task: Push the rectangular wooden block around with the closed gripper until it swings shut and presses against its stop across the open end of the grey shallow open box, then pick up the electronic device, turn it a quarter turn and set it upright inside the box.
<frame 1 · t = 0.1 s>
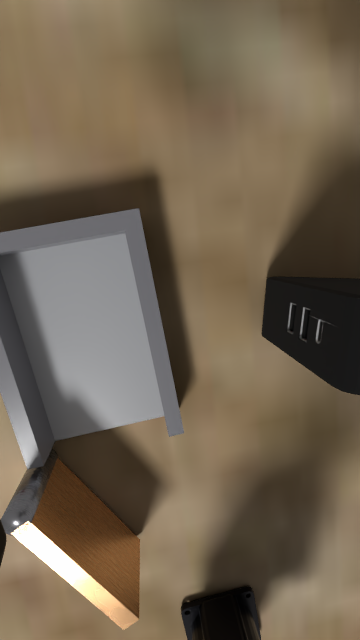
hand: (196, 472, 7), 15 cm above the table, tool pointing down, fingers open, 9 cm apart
electronic device: (324, 305, 23), on the table
rectangular wooden block: (82, 532, 21), point 3 cm above the table, hinge at -65.0°
grey shallow open box: (89, 341, 21), on the table
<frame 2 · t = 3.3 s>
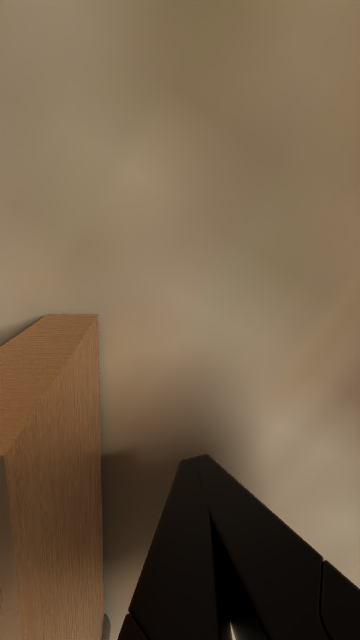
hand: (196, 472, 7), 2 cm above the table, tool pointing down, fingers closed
rectangular wooden block: (54, 611, 6), point 3 cm above the table, hinge at -64.9°, touching gripper
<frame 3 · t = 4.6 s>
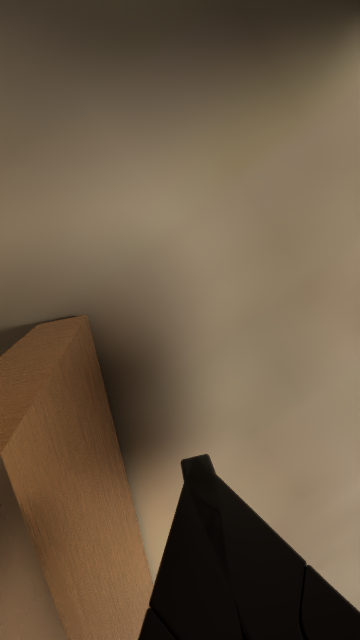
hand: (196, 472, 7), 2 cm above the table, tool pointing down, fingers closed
rectangular wooden block: (103, 598, 7), point 3 cm above the table, hinge at -31.3°, touching gripper
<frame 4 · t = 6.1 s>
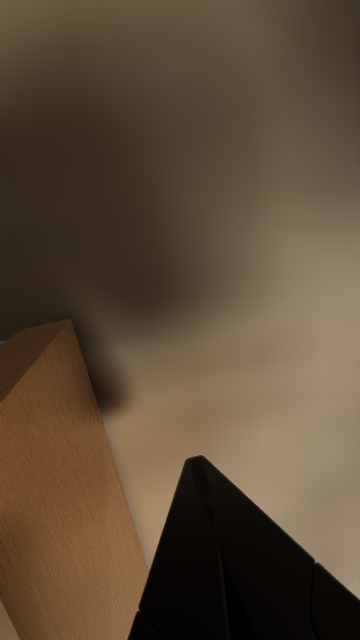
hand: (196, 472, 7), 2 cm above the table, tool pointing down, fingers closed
rectangular wooden block: (95, 607, 6), point 3 cm above the table, hinge at 2.5°, touching gripper
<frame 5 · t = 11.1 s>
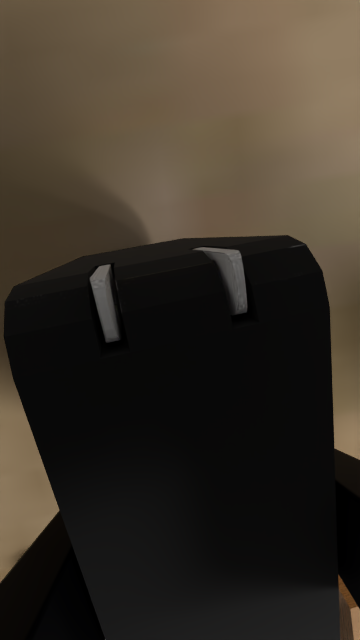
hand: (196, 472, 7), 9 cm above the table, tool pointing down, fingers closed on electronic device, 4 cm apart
electronic device: (154, 353, 15), point 1 cm above the table, touching gripper
rectangular wooden block: (336, 621, 18), point 3 cm above the table, hinge at 2.4°
when the fingers open (9 cm above the table, at t = 13.7 s): electronic device stays where it is, resting on grey shallow open box.
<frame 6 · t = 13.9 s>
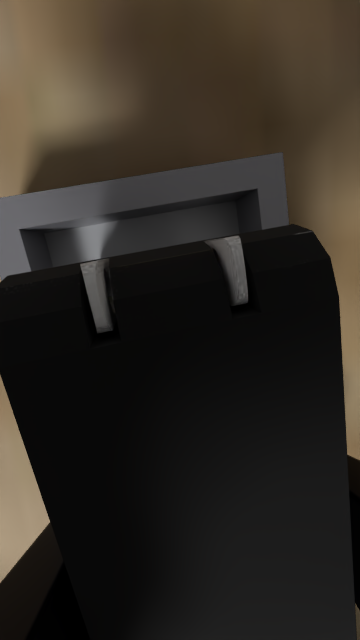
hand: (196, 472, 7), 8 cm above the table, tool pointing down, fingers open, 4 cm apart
electronic device: (163, 359, 14), resting on grey shallow open box, touching gripper
grey shallow open box: (169, 359, 15), on the table
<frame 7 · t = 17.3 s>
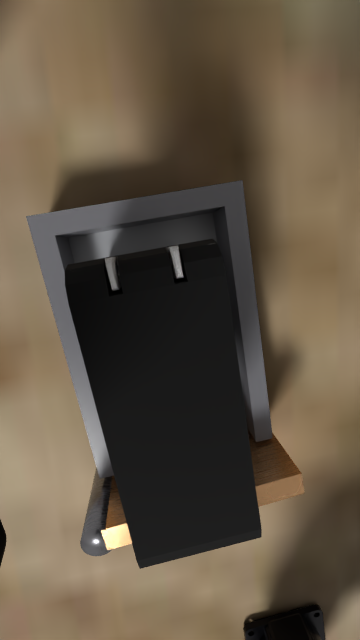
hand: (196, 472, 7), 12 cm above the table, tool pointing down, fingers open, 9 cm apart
electronic device: (158, 334, 19), resting on grey shallow open box
rectangular wooden block: (186, 474, 18), point 3 cm above the table, hinge at 2.4°
grey shallow open box: (163, 335, 19), on the table
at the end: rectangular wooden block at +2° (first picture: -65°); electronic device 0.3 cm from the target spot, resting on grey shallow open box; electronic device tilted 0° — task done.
